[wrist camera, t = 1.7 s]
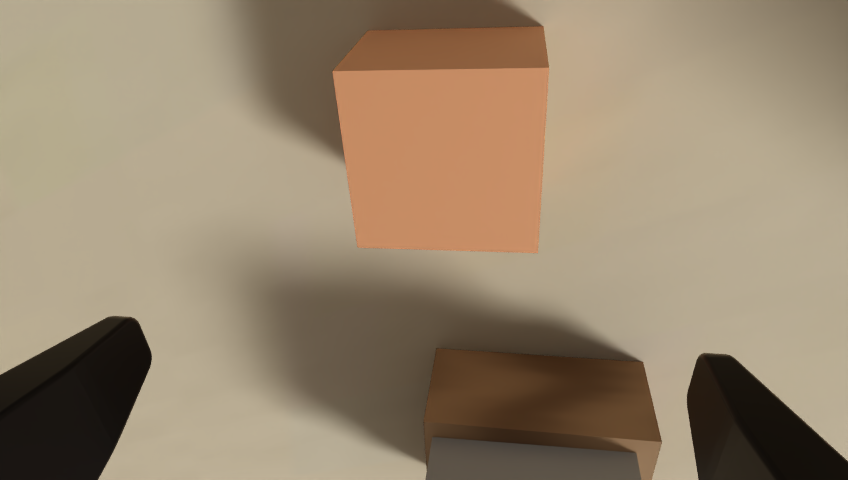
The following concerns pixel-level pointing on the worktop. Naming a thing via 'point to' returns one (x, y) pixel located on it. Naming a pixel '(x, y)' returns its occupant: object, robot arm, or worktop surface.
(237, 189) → the worktop surface
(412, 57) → the terracotta block
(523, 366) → the walnut base block
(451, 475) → the slate top block
